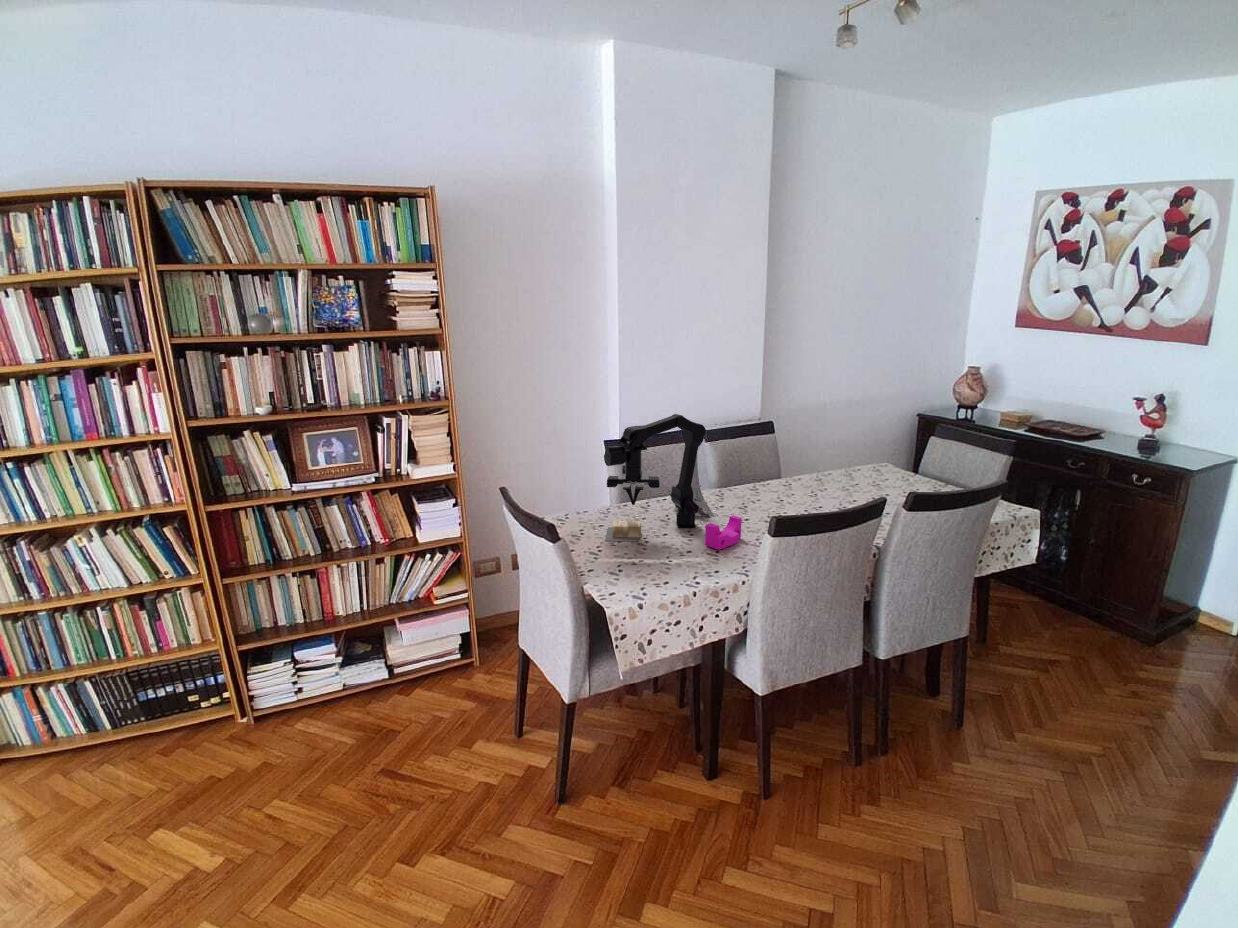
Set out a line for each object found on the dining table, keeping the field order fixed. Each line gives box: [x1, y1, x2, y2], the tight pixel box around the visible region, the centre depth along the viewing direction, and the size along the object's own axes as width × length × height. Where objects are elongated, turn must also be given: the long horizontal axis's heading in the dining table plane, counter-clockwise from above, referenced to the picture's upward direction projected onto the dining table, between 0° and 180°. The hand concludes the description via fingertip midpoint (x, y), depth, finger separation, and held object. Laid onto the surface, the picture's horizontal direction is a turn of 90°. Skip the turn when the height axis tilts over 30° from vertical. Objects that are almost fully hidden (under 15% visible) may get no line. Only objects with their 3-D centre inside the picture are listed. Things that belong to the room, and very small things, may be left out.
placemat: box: [604, 526, 640, 543], centre depth 233 cm, size 12×14×1 cm
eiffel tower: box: [672, 456, 716, 518], centre depth 251 cm, size 13×13×30 cm
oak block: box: [612, 520, 642, 538], centre depth 233 cm, size 4×6×10 cm
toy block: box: [704, 514, 743, 551], centre depth 225 cm, size 15×6×8 cm, turn 131°
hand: (633, 504), depth 230 cm, fingers closed
